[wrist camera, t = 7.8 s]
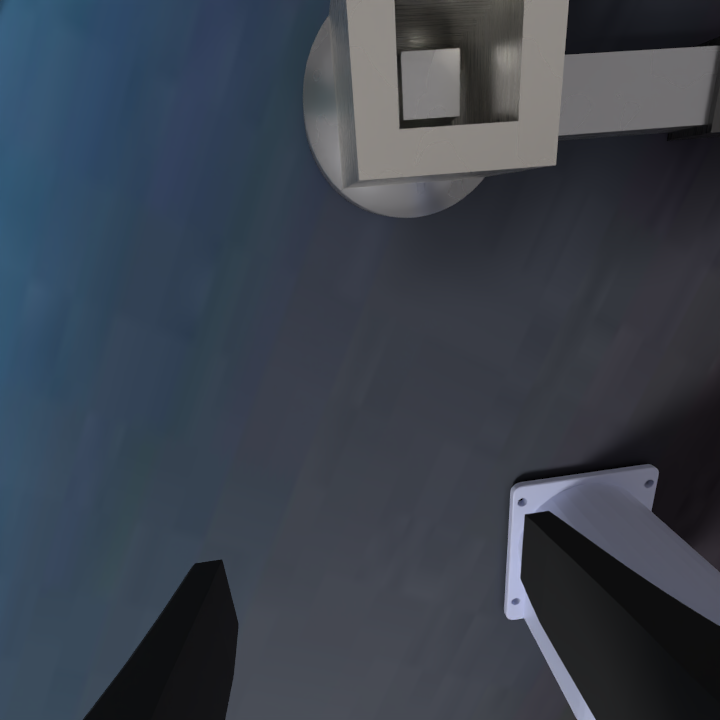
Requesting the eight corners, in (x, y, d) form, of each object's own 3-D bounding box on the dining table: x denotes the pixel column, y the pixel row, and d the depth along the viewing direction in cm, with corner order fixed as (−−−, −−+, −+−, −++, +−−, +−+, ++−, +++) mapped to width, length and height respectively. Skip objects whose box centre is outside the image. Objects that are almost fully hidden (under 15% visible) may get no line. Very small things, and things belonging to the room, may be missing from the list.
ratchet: (787, 182, 18) (931, 175, 14) (315, 223, 17) (317, 229, 12) (839, -20, 16) (1031, -102, 12) (291, 6, 14) (284, -78, 10)
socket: (478, 177, 15) (555, 165, 10) (342, 189, 14) (359, 180, 10) (481, 11, 13) (576, -96, 8) (328, 18, 13) (339, -91, 8)
